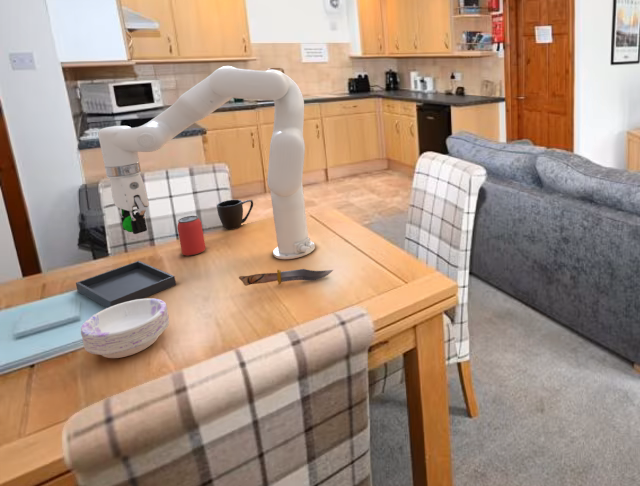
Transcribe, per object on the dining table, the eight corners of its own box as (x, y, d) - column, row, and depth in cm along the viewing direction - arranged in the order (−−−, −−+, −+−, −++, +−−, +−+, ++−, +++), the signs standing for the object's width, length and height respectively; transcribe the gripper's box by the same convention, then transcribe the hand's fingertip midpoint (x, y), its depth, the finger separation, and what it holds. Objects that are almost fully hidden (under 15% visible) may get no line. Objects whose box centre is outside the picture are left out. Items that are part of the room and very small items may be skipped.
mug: (258, 223, 179) (255, 200, 176) (223, 232, 171) (219, 208, 169) (252, 218, 184) (249, 195, 182) (218, 226, 176) (214, 203, 174)
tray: (176, 284, 134) (174, 276, 133) (112, 311, 121) (110, 301, 120) (140, 268, 144) (138, 260, 143) (77, 291, 131) (75, 282, 130)
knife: (334, 276, 137) (333, 260, 136) (334, 278, 136) (332, 262, 135) (241, 290, 130) (239, 274, 129) (240, 293, 129) (237, 276, 128)
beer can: (189, 248, 158) (183, 215, 155) (210, 247, 158) (204, 214, 156) (177, 257, 151) (171, 222, 149) (198, 256, 152) (192, 221, 149)
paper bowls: (187, 332, 111) (181, 302, 110) (116, 374, 97) (109, 341, 96) (143, 320, 116) (137, 292, 115) (71, 359, 102) (63, 327, 101)
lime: (133, 235, 131) (130, 219, 130) (119, 234, 132) (116, 218, 131) (150, 228, 136) (147, 213, 135) (136, 227, 137) (133, 212, 136)
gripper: (154, 170, 129) (165, 231, 133) (125, 163, 137) (136, 221, 141) (121, 177, 123) (134, 241, 126) (93, 169, 131) (105, 229, 135)
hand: (135, 229), depth 134 cm, fingers closed on lime, 5 cm apart
